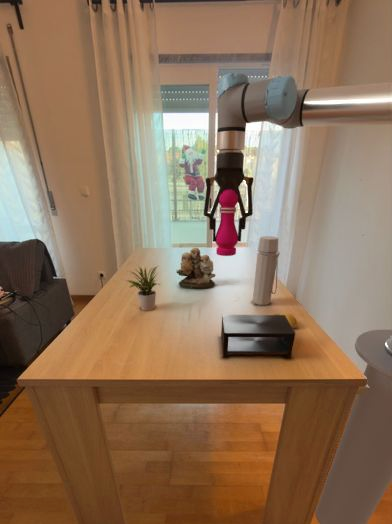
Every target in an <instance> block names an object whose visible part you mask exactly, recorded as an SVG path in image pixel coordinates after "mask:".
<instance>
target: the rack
mask: <svg viewBox="0 0 392 524" xmlns="http://www.w3.org/2000/svg"><path fill="white" fill-rule="evenodd" d="M220 329H221V330H220V331H221V333H220V339H221V349H222V358H223V359H227V358H228V355H270V356H271V355H277V356H279V355H281V356H282V355H283V356H285V359H286V360H288V359H289V360H290V359H291V358H292V355H293V349H294V343H295V338H296V332H295V330H294V328H292V327H291V325H290V323H289V322H288V320H287V318H286V316H285V315H281V314H279V315H275V314H221V328H220Z"/></svg>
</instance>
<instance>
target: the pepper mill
mask: <svg viewBox="0 0 392 524" xmlns="http://www.w3.org/2000/svg"><path fill="white" fill-rule="evenodd" d="M218 205H220V207H219V213H220V222H219V224H218V225H219V226H218V228H217V230H216V235H215V244H216V245H217V247H216V255H218V256H222V257H232V256H236V254H237V248H236V247H235V246H237V244H238V242H239V241H238V230H237V227H236V223H235V215H236V213H237V206H236V205H238V195H237V194H236V193H235V190H232V189H226V190H223V193H222V194H220V197H219V203H218Z"/></svg>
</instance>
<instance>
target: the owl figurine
mask: <svg viewBox="0 0 392 524" xmlns="http://www.w3.org/2000/svg"><path fill="white" fill-rule="evenodd" d="M213 271H214V262H213V260H212V259H210V256H209V255H208V254H204V255H201V249H200V248H198V247H192V248H191V249H190V250H189V252H184V253H181V261H180V268H179V269H176V274H178V276H180V277H184V278H182V279H181V280H180V281H178V286H179V287H180V288H182V289H188V290H189V289H191V290H206V289H211V288H212V287H215V285H216V284H215V281H214V280H213V279H212V278H215V277H216V273H213Z"/></svg>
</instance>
